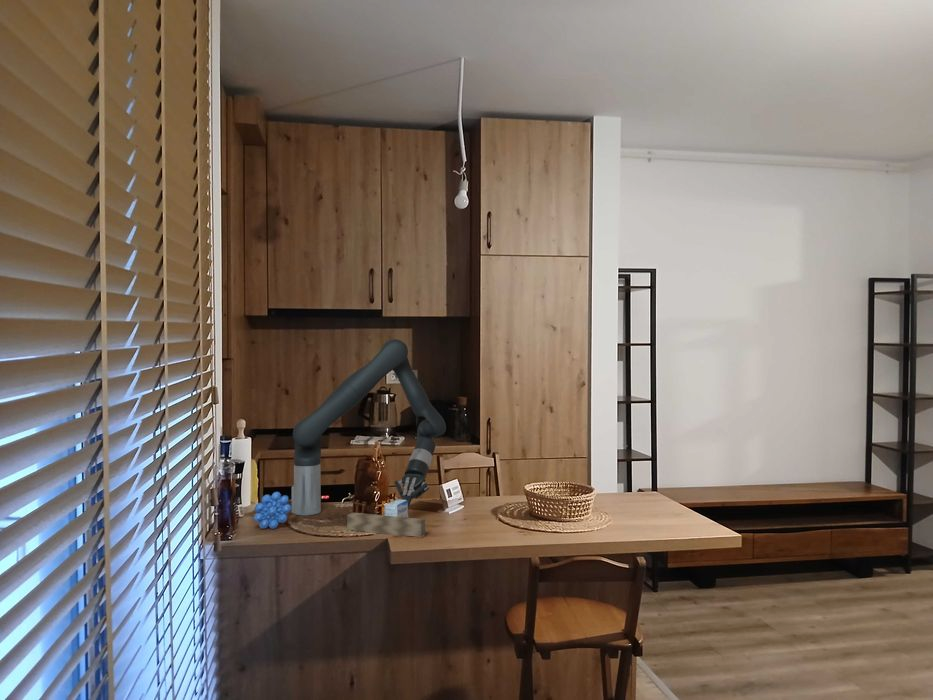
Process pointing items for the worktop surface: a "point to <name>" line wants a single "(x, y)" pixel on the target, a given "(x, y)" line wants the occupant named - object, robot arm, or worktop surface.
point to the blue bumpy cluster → (272, 510)
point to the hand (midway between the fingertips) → (403, 507)
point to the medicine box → (397, 508)
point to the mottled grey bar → (386, 524)
